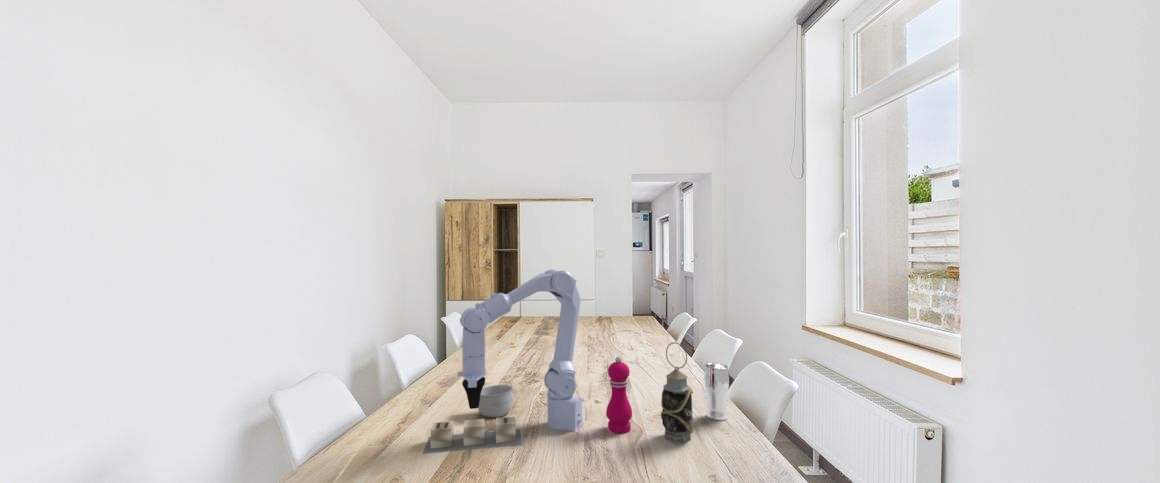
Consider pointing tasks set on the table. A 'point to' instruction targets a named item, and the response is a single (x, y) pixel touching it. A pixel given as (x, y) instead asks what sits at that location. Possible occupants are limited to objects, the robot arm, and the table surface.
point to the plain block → (474, 432)
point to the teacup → (496, 400)
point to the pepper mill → (619, 398)
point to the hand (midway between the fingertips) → (474, 407)
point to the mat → (459, 445)
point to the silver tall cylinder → (716, 390)
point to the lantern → (677, 406)
